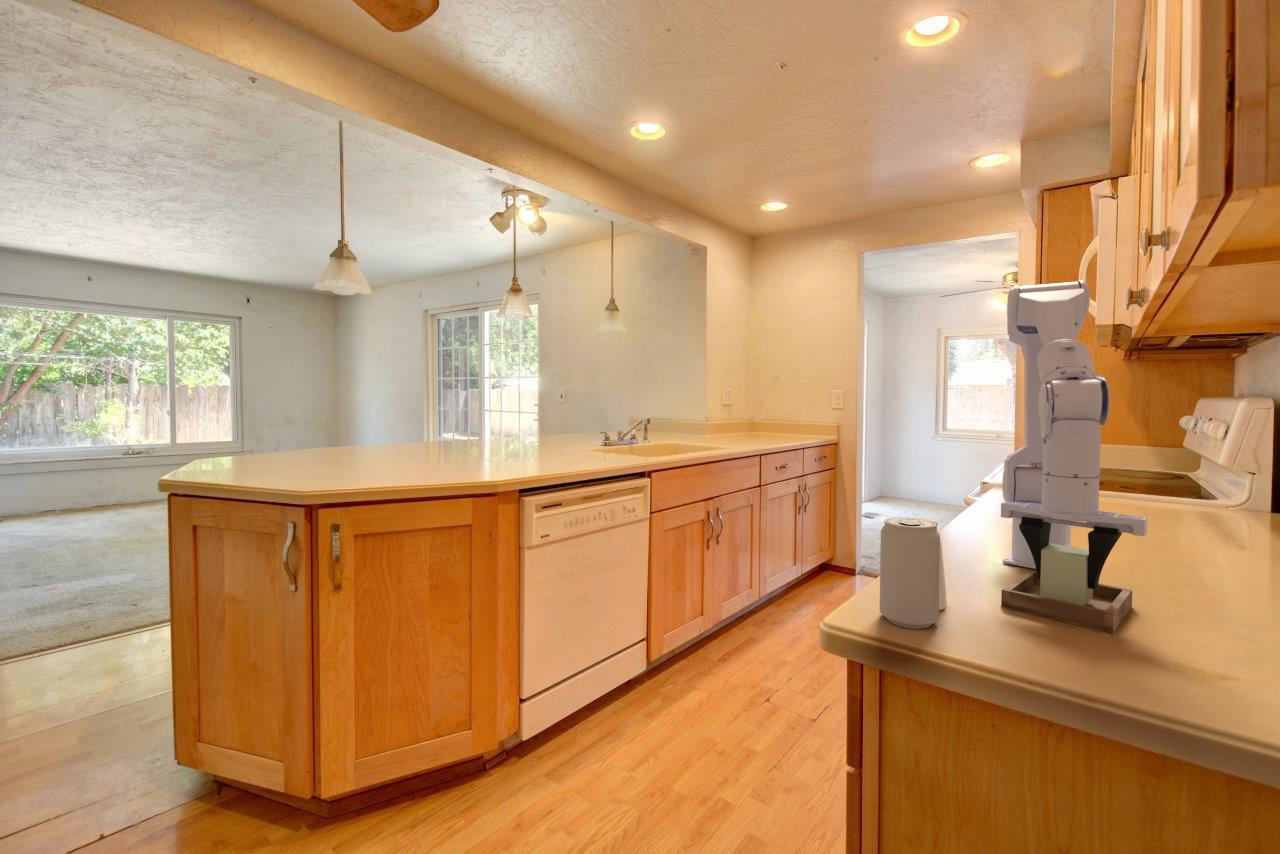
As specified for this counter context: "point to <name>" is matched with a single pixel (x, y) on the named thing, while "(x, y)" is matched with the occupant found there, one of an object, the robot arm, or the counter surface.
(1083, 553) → the sage block
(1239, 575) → the counter surface
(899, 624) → the beverage can
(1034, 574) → the walnut tray
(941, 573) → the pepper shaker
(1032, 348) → the robot arm
